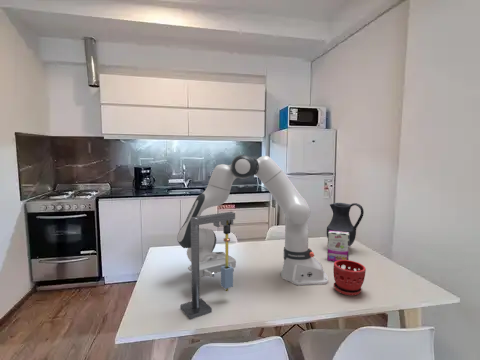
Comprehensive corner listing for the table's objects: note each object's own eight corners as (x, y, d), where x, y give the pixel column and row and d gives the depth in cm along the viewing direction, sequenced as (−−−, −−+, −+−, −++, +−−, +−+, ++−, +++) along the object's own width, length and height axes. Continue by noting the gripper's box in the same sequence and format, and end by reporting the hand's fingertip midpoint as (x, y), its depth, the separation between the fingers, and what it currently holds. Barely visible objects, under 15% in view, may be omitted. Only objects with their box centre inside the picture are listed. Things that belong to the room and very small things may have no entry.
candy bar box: (348, 260, 165) (349, 232, 163) (348, 264, 160) (349, 234, 158) (327, 257, 169) (328, 229, 167) (326, 260, 164) (327, 232, 162)
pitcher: (331, 243, 194) (333, 198, 190) (364, 250, 182) (367, 202, 178) (321, 251, 180) (323, 202, 176) (357, 258, 168) (359, 206, 164)
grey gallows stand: (227, 293, 127) (227, 210, 123) (238, 302, 120) (239, 214, 116) (180, 308, 115) (178, 217, 111) (190, 319, 108) (188, 222, 104)
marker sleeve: (228, 283, 124) (228, 264, 123) (232, 286, 121) (232, 267, 120) (220, 285, 122) (220, 266, 121) (225, 288, 119) (225, 269, 118)
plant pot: (347, 300, 122) (348, 273, 120) (326, 287, 134) (327, 261, 132) (371, 294, 127) (372, 268, 126) (348, 281, 139) (349, 257, 137)
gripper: (186, 260, 129) (200, 271, 118) (226, 251, 140) (242, 260, 129) (186, 274, 130) (200, 286, 118) (226, 263, 141) (242, 274, 130)
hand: (222, 272), depth 124 cm, fingers open, 8 cm apart
